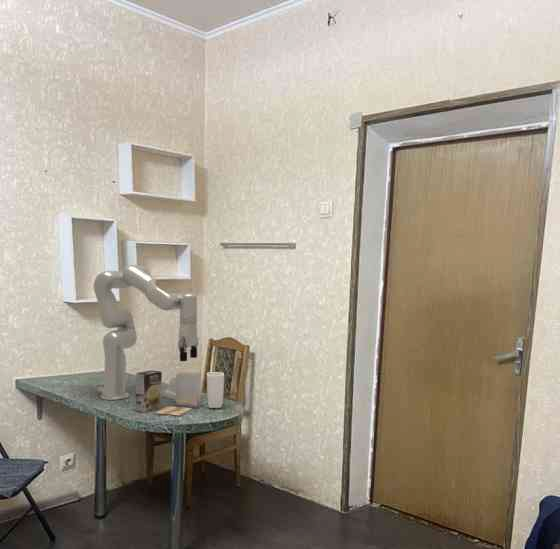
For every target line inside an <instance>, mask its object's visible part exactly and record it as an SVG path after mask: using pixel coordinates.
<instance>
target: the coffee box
mask: <svg viewBox="0 0 560 549" xmlns="http://www.w3.org/2000/svg"><path fill="white" fill-rule="evenodd" d="M162 373H163V372H162V371H159V370H145V371H141V372H136V378H135V380H136V381H135V403H134V404H135V408H134V410H135V411H137V412H141V413H147V412H152V411H156V410H160V409H162V407H161V406H162V382H163V381H162V378H163V377H162V376H163V375H162Z"/></svg>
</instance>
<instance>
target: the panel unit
mask: <svg viewBox="0 0 560 549" xmlns="http://www.w3.org/2000/svg"><path fill="white" fill-rule="evenodd" d="M175 376H176V377H175V378H176V400H175V403H174V404H172V407H183V408H191V409H192V408H195V410H199V409H201V408H202V407H203V406H204V404H203V403H201V397H202V396H201V392H202V391H201V389H202V386H201V385H202V380H201V379H202V374H201V373H196V372H195V373H193V372H180V371H179V372H178V373H176V375H175Z"/></svg>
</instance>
